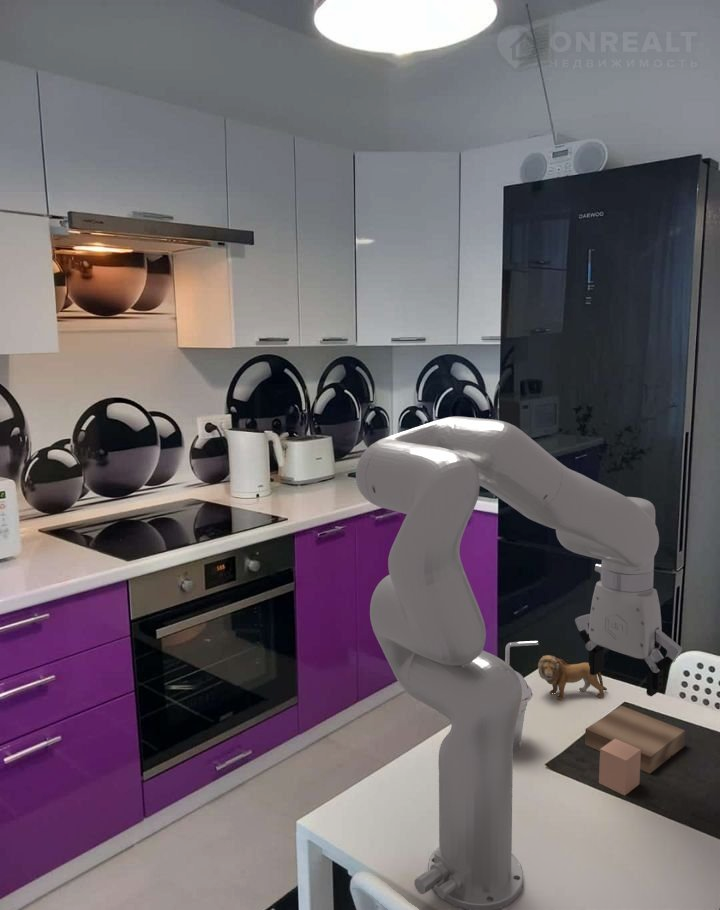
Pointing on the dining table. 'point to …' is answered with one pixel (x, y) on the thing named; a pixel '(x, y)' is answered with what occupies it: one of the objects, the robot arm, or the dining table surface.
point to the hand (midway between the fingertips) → (624, 682)
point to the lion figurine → (568, 675)
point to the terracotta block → (619, 766)
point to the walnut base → (637, 736)
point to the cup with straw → (525, 694)
